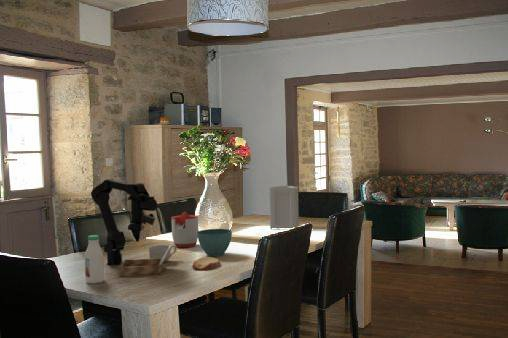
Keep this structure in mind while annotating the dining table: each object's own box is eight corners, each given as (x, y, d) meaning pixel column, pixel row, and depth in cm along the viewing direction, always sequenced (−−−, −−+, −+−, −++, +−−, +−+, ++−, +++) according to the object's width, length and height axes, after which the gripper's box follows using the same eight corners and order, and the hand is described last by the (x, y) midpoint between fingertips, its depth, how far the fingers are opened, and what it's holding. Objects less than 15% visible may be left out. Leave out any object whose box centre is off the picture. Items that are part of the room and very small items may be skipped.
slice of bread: (211, 260, 273) (211, 252, 272) (231, 266, 258) (231, 258, 258) (179, 265, 262) (179, 258, 262) (198, 272, 247) (198, 264, 247)
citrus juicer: (166, 249, 302) (165, 213, 301) (177, 243, 319) (176, 209, 318) (192, 249, 299) (191, 213, 298) (203, 243, 315) (202, 209, 314)
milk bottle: (106, 279, 237) (104, 234, 236) (101, 283, 230) (100, 237, 229) (88, 279, 237) (86, 234, 236) (83, 284, 230) (81, 237, 229)
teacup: (149, 265, 263) (149, 248, 263) (148, 260, 274) (147, 244, 273) (178, 262, 267) (178, 246, 267) (175, 258, 277) (175, 242, 277)
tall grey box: (303, 226, 370) (302, 186, 368) (296, 230, 356) (296, 187, 355) (277, 225, 377) (276, 185, 376) (269, 229, 363) (268, 187, 362)
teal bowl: (227, 258, 274) (226, 234, 273) (193, 257, 277) (192, 234, 277) (235, 251, 291) (235, 228, 291) (203, 250, 295) (202, 228, 294)
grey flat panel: (169, 247, 244) (170, 248, 244) (172, 241, 259) (172, 241, 259) (159, 264, 244) (160, 265, 244) (162, 257, 259) (163, 258, 259)
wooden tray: (119, 276, 242) (119, 267, 242) (125, 267, 258) (124, 259, 258) (159, 274, 244) (159, 265, 243) (163, 266, 259) (162, 258, 259)
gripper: (151, 212, 250) (152, 245, 251) (156, 206, 269) (156, 237, 270) (127, 212, 249) (127, 245, 250) (133, 206, 268) (134, 238, 269)
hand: (137, 241), depth 260 cm, fingers closed
